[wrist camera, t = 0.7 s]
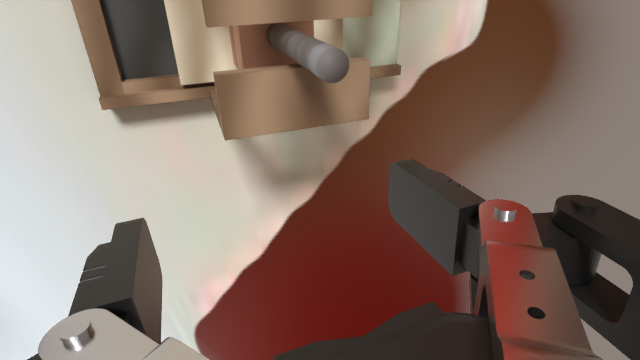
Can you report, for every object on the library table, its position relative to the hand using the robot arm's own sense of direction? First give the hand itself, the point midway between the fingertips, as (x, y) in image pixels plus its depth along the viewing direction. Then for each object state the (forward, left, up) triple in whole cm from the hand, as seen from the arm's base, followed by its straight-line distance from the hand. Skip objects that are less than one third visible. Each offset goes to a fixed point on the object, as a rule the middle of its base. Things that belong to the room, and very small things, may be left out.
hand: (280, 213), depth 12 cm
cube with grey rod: (+2, +5, -28) cm, 29 cm away
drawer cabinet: (+2, +5, -30) cm, 30 cm away
